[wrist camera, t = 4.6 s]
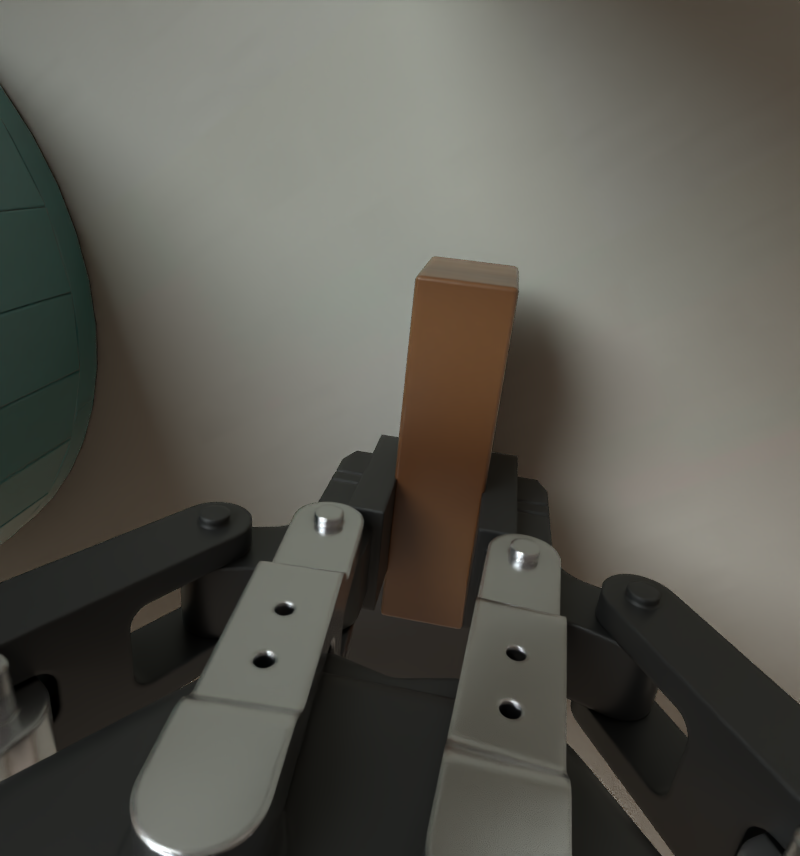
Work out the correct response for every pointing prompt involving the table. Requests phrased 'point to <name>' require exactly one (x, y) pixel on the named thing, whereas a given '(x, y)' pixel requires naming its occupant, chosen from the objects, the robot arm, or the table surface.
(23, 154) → the bowl
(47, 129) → the table surface
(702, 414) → the table surface
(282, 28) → the table surface
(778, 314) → the table surface
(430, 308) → the spatula
